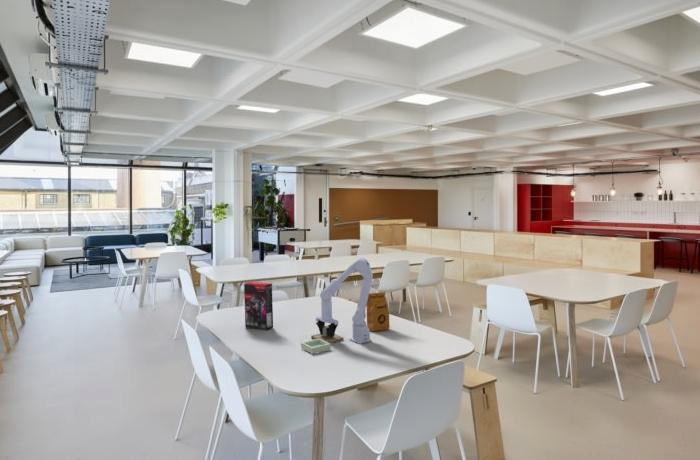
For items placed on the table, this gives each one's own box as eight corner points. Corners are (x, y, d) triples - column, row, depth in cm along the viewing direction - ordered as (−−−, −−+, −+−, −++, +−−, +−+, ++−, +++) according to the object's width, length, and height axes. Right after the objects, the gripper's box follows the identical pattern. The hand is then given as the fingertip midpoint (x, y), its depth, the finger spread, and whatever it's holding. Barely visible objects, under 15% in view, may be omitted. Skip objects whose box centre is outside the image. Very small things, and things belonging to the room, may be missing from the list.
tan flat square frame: (343, 340, 233) (343, 337, 233) (324, 344, 226) (324, 341, 226) (329, 334, 244) (329, 331, 244) (311, 338, 237) (311, 335, 237)
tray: (330, 349, 218) (330, 343, 218) (311, 354, 212) (311, 348, 212) (319, 344, 227) (319, 338, 227) (301, 348, 221) (300, 342, 221)
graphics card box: (244, 327, 260) (242, 283, 259) (251, 324, 266) (250, 281, 265) (266, 331, 252) (265, 285, 251) (274, 328, 258) (272, 283, 257)
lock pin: (331, 339, 235) (331, 326, 234) (326, 340, 232) (325, 328, 232) (328, 337, 237) (328, 325, 237) (322, 339, 235) (322, 326, 235)
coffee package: (391, 330, 249) (391, 293, 247) (371, 333, 244) (371, 295, 243) (384, 326, 258) (383, 290, 257) (365, 328, 254) (364, 291, 252)
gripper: (341, 311, 233) (342, 336, 234) (321, 307, 242) (322, 331, 242) (333, 314, 227) (333, 339, 228) (313, 310, 236) (313, 334, 237)
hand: (327, 335), depth 235 cm, fingers open, 7 cm apart
